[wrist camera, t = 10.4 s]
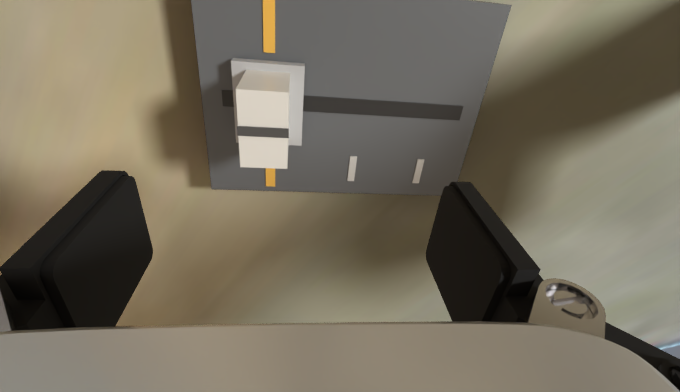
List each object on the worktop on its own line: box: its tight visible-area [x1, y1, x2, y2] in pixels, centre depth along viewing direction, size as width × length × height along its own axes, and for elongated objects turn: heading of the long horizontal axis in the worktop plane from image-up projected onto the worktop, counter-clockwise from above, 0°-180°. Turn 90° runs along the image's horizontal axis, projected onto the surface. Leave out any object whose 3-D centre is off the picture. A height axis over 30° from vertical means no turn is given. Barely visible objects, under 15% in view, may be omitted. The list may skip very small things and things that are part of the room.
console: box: [191, 0, 511, 196], centre depth 29 cm, size 22×16×3 cm
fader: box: [231, 58, 305, 169], centre depth 24 cm, size 5×6×6 cm
